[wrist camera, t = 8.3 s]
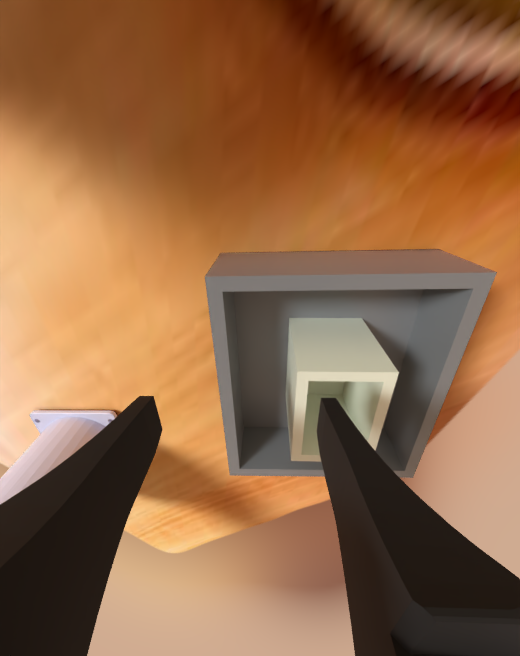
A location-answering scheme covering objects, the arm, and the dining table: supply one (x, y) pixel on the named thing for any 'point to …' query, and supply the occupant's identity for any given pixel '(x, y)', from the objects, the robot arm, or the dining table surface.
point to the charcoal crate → (338, 302)
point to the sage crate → (335, 379)
